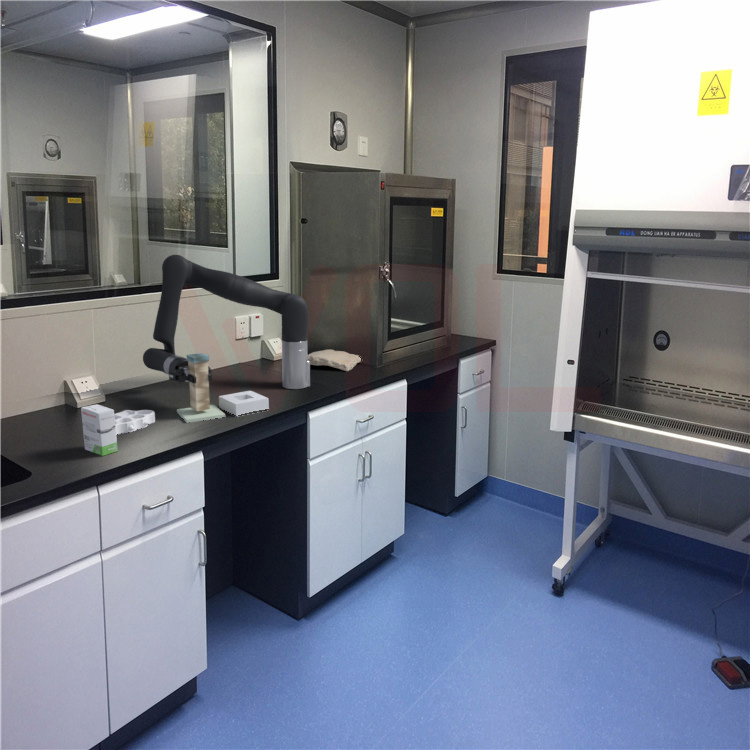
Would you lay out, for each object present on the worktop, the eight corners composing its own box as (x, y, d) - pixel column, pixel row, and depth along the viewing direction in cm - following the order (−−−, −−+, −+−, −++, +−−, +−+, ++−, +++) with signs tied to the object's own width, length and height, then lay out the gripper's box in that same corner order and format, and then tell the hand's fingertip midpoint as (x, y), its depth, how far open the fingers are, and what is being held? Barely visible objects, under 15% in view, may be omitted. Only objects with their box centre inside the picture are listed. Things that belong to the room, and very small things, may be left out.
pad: (214, 407, 218) (214, 404, 218) (225, 417, 208) (225, 414, 208) (176, 412, 212) (176, 409, 212) (186, 422, 202) (186, 419, 202)
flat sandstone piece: (344, 376, 265) (364, 361, 283) (343, 358, 263) (363, 344, 281) (290, 372, 274) (312, 358, 292) (288, 354, 272) (311, 341, 290)
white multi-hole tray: (132, 416, 210) (165, 423, 203) (82, 431, 195) (116, 440, 188) (131, 405, 209) (165, 413, 202) (81, 420, 194) (115, 429, 187)
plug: (204, 405, 213) (201, 353, 209) (211, 409, 209) (208, 355, 205) (189, 408, 210) (186, 355, 206) (196, 411, 206) (193, 357, 202)
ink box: (118, 451, 178) (115, 409, 175) (101, 456, 174) (97, 413, 172) (100, 444, 183) (96, 403, 180) (83, 449, 179) (79, 407, 177)
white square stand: (250, 402, 225) (250, 390, 224) (268, 410, 216) (268, 398, 215) (219, 408, 218) (218, 396, 217) (236, 416, 209) (236, 404, 208)
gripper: (157, 359, 213) (180, 370, 200) (199, 354, 221) (223, 364, 209) (158, 382, 214) (181, 394, 202) (200, 376, 223) (224, 387, 211)
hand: (202, 379), depth 205 cm, fingers closed on plug, 4 cm apart
